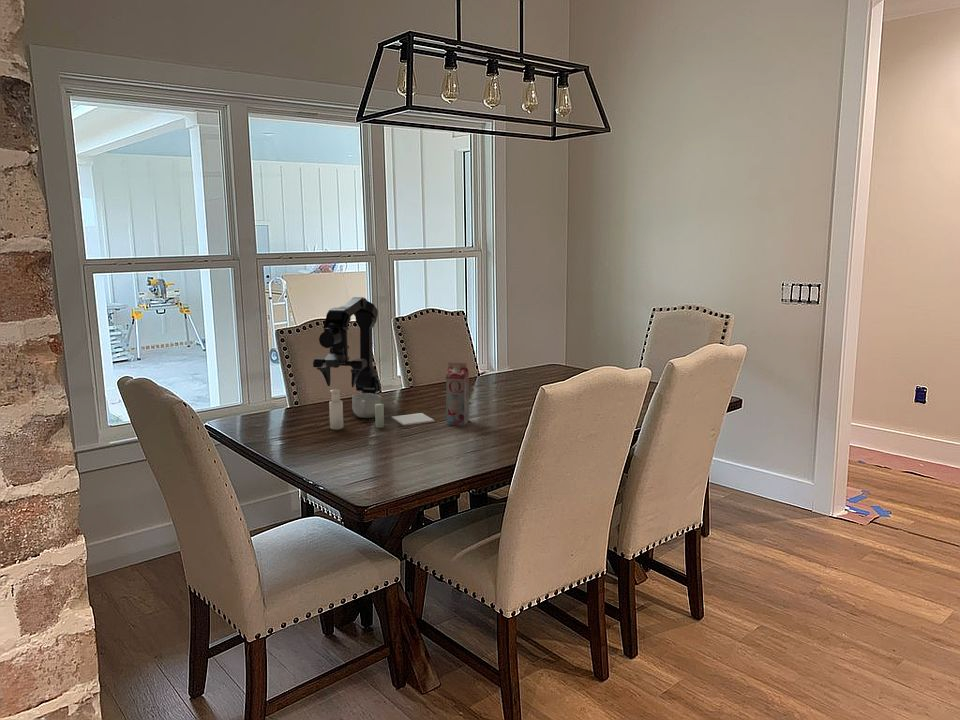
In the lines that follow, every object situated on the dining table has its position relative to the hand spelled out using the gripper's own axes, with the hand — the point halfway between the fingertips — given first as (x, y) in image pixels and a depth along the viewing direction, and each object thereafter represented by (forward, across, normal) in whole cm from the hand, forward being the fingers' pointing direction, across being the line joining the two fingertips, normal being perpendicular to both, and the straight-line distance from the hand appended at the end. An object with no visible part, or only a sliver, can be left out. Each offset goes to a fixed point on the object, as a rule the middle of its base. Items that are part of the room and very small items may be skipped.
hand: (340, 386), depth 275 cm
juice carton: (+13, +42, +7) cm, 44 cm away
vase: (+13, +2, -9) cm, 16 cm away
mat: (+13, +25, +8) cm, 29 cm away
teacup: (+13, +6, +8) cm, 17 cm away
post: (+13, +16, -4) cm, 21 cm away
